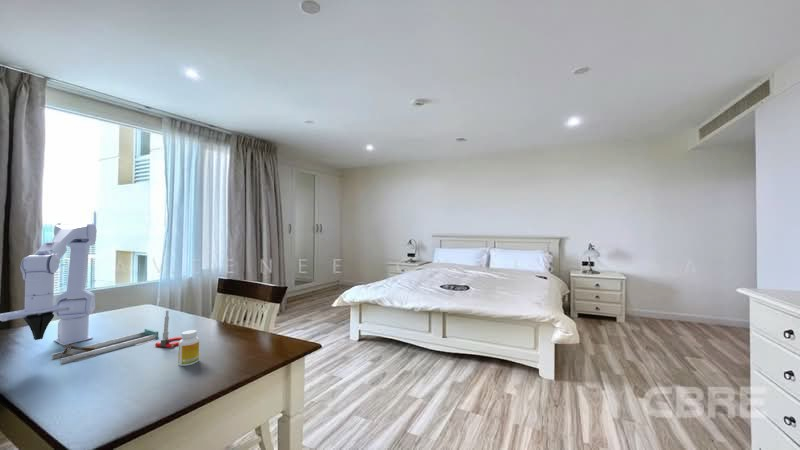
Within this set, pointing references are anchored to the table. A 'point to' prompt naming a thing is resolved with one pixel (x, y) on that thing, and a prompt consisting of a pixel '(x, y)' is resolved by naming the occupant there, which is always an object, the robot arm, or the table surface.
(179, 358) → the supplement bottle
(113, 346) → the guide rail
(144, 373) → the table surface
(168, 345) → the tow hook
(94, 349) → the wooden post with brackets
